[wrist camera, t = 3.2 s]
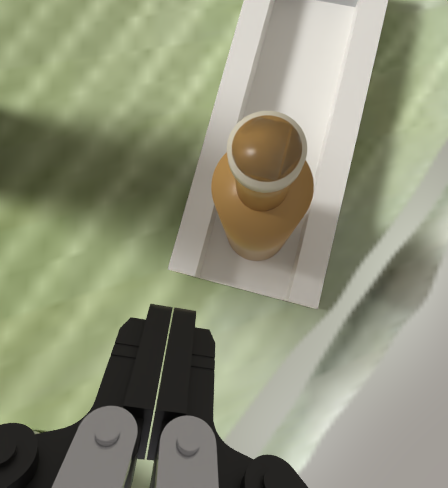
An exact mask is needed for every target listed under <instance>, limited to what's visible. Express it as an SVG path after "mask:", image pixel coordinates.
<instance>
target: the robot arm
mask: <svg viewBox="0 0 448 488" xmlns="http://www.w3.org/2000/svg"><path fill="white" fill-rule="evenodd" d="M171 313H172V307H167V306H161V305H155V304H150V307H149V311H148V315H147V318H146V320H144V319H138V318H130V319H129V320H128V321H127V322H126V323H125V324H124V325H123V326H122V327H121V328H120V330H119V333H118V336H117V338H116V341H115V345H114V347H113V350H112V353H111V357H110V359H109V362H108V365H107V368H106V370H105V373H104V376H103V379H102V382H101V385H100V388H99V391H98V394H97V397H96V400H95V402H94V404H93V406H92V408H91V410H90V411H89V412H88V413H87V415H85V416H84V417H83V418H82V419H81V420H79V421H78V422H77V423H75V424H73V425H71V426H68V427H66V428H62V429H58V430H53V431H48V432H43V433H38V434H35V433H34V432H33V431H32V430H31V429H30V428H29V427H27V426H26V425H23V424H19V423H7V424H2V425H0V488H130V487H131V485H132V481H133V476H134V471H135V466H136V461H137V459H144V458H145V453H146V448H147V442H148V437H149V432H150V426H151V421H152V416H153V410H154V405H155V400H156V394H157V389H158V383H159V378H160V372H161V367H162V362H163V356H164V351H165V345H166V340H167V334H168V329H169V324H170V318H171ZM195 319H196V311H192V310H186V309H180V308H174V312H173V318H172V323H171V328H170V333H169V339H168V344H167V349H166V355H165V360H164V366H163V372H162V377H161V383H160V388H159V394H158V400H157V405H156V411H155V416H154V422H153V428H152V433H151V439H150V444H149V450H148V456H147V460H154V464H153V471H152V477H151V483H150V487H149V488H308V487H307V486H306V484H305V483H304V482H303V480H302V479H301V478H300V477H299V475H298V474H297V473H296V472H295V470H294V469H293V468H292V467H291V466H290V465H289V464H288V463H287V462H286V461H284V460H283V459H281V458H279V457H277V456H273V455H262V456H259V457H257V458H255V459H252V458H250V457H248V456H245V455H243V454H241V453H239V452H237V451H235V450H234V449H232V448H230V447H229V446H228V445H226V444H225V443H224V442H223V441H222V439H221V438H220V437H219V435H218V433H217V431H216V429H215V426H214V422H213V401H214V368H215V360H214V359H215V341H214V339H213V337H212V335H211V332H210V330H208V329H202V328H195Z"/></svg>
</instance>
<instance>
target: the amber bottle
mask: <svg viewBox="0 0 448 488" xmlns="http://www.w3.org/2000/svg"><path fill="white" fill-rule="evenodd" d="M306 156H307V141H306V137H305V134H304V132H303V130H302V129H301V127H300V126H299V125H298V124H297V123H296V122H295V121H294V120H293V119H292V118H291V117H289V116H287V115H285V114H283V113H280V112H276V111H259V112H255V113H252V114H250V115H248V116H246V117H245V118H243V119H242V120H240V121H239V122H238V123H237V124H236V125H235V127H234V128H233V130H232V131H231V133H230V135H229V138H228V142H227V152H226V153H225V154H224V155H223V157H222V158H221V159H220V161H219V162H218V164H217V166H216V168H215V170H214V173H213V177H212V184H211V191H212V198H213V201H214V204H215V207H216V210H217V212H218V215H219V218H220V220H221V223H222V225H223V228H224V231H225V233H226V236H227V239H228V241H229V244H230V246H231V247H232V249H233V250H234V251H235V252H236V253H237V254H238V255H239V256H241V257H243V258H245V259H247V260H251V261H262V260H266V259H269V258H271V257H273V256H274V255H275V254H277V253H278V252H279V250H280V249H281V248H282V246H283V245H284V244H285V242H286V241H287V239H288V238H289V237H290V235H291V234H292V232H293V231H294V229H295V228H296V227H297V225H298V224H299V222H300V221H301V220H302V218H303V217H304V215H305V214H306V212H307V211H308V209H309V207H310V204H311V201H312V198H313V192H314V181H313V176H312V172H311V169H310V167H309V165H308V163H307V161H306Z"/></svg>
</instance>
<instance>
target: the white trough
mask: <svg viewBox="0 0 448 488" xmlns="http://www.w3.org/2000/svg"><path fill="white" fill-rule="evenodd" d="M387 4H388V0H244V2H243V5H242V9H241V12H240V16H239V19H238V23H237V26H236V30H235V34H234V37H233V41H232V44H231V48H230V51H229V55H228V58H227V62H226V65H225V69H224V72H223V76H222V79H221V83H220V86H219V90H218V94H217V97H216V101H215V104H214V108H213V111H212V115H211V118H210V122H209V125H208V129H207V132H206V136H205V139H204V143H203V146H202V150H201V153H200V157H199V161H198V164H197V168H196V171H195V175H194V178H193V182H192V185H191V189H190V192H189V196H188V199H187V203H186V206H185V210H184V213H183V217H182V220H181V224H180V228H179V231H178V235H177V238H176V242H175V245H174V249H173V252H172V256H171V259H170V263H169V266H168V270H172V271H175V272H178V273H182V274H186V275H190V276H193V277H197V278H201V279H205V280H208V281H212V282H216V283H220V284H223V285H227V286H231V287H235V288H239V289H242V290H246V291H250V292H254V293H257V294H261V295H265V296H269V297H272V298H276V299H280V300H284V301H288V302H291V303H295V304H299V305H303V306H306V307H310V308H315V309H318V305H319V301H320V297H321V292H322V288H323V284H324V279H325V275H326V270H327V266H328V262H329V257H330V253H331V249H332V244H333V240H334V235H335V231H336V227H337V222H338V218H339V214H340V209H341V205H342V200H343V196H344V192H345V187H346V183H347V179H348V174H349V170H350V165H351V161H352V157H353V152H354V148H355V144H356V139H357V135H358V130H359V126H360V122H361V117H362V113H363V109H364V104H365V100H366V95H367V91H368V87H369V82H370V78H371V74H372V69H373V65H374V60H375V56H376V52H377V47H378V43H379V39H380V34H381V30H382V25H383V21H384V17H385V12H386V8H387ZM259 111H276V112H280V113H283V114H285V115H287V116H289V117H291V118H292V119H293V120H294V121H295V122H296V123H297V124H298V125H299V126H300V127H301V129H302V130H303V132H304V134H305V137H306V141H307V156H306V161H307V163H308V165H309V167H310V169H311V172H312V176H313V181H314V192H313V198H312V201H311V204H310V207H309V209H308V211H307V212H306V214H305V215H304V217H303V218H302V220H301V221H300V222H299V224H298V225H297V227H296V228H295V229H294V231H293V232H292V234H291V235H290V237H289V238H288V239H287V241H286V242H285V244H284V245H283V246H282V248H281V249H280V250H279V252H278V253H277V254H275V255H274V256H273V257H271V258H269V259H266V260H262V261H251V260H247V259H245V258H243V257H241V256H239V255H238V254H237V253H236V252H235V251H234V250H233V249H232V247H231V246H230V244H229V241H228V239H227V236H226V233H225V231H224V228H223V225H222V223H221V220H220V218H219V215H218V212H217V210H216V207H215V204H214V201H213V198H212V191H211V184H212V177H213V173H214V170H215V168H216V166H217V164H218V162H219V161H220V159H221V158H222V157H223V155H224V154H225V153H226V152H227V142H228V138H229V135H230V133H231V131H232V130H233V128H234V127H235V125H236V124H237V123H238V122H239V121H240V120H242V119H243V118H245V117H246V116H248V115H250V114H252V113H255V112H259Z"/></svg>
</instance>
